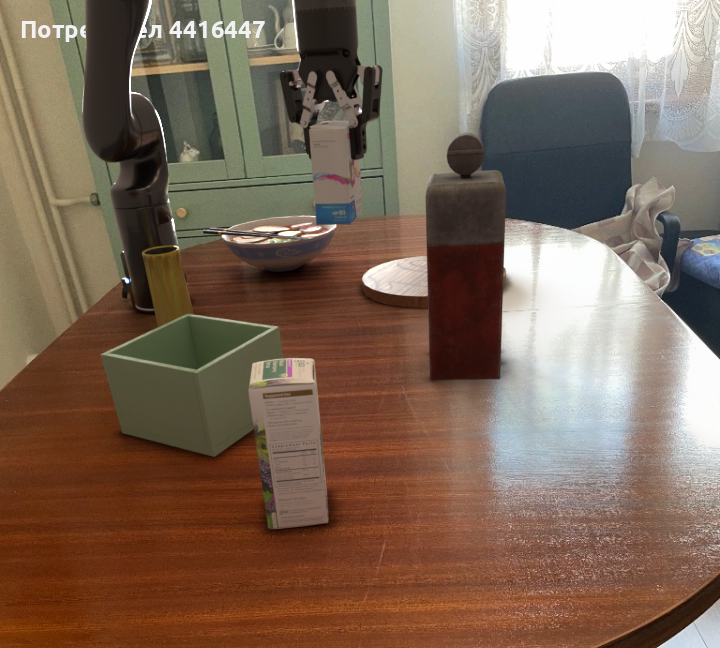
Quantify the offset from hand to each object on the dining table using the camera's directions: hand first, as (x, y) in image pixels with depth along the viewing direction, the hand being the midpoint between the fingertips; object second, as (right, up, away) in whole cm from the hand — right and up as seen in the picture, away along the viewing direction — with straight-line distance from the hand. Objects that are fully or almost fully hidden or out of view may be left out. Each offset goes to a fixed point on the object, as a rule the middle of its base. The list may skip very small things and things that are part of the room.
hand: (336, 158), depth 95 cm
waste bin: (-15, -35, -7) cm, 39 cm away
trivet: (+16, -8, +33) cm, 37 cm away
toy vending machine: (+17, -27, +2) cm, 32 cm away
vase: (-24, -22, +16) cm, 36 cm away
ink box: (+1, -7, +4) cm, 8 cm away
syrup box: (-3, -45, -25) cm, 52 cm away
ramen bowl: (-12, 0, +50) cm, 51 cm away
